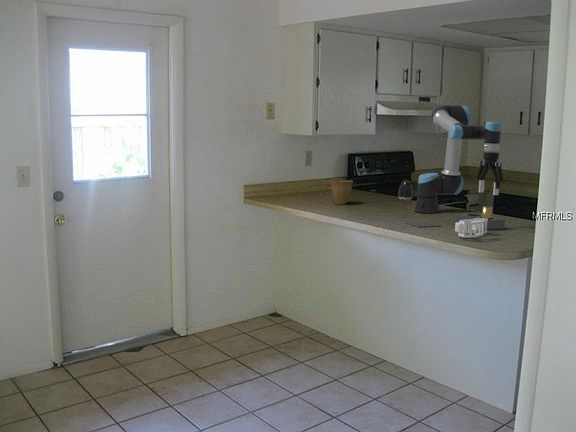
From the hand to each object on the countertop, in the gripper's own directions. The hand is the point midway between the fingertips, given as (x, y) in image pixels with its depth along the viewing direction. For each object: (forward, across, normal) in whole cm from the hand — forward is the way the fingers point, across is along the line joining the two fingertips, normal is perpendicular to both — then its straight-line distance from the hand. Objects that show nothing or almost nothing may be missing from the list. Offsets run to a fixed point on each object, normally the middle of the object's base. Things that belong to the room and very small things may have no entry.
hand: (488, 193), depth 315 cm
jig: (+18, -6, 0) cm, 19 cm away
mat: (+18, -16, -29) cm, 38 cm away
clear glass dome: (+18, -106, +14) cm, 108 cm away
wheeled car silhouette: (+18, +16, -20) cm, 31 cm away
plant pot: (+18, -100, -38) cm, 109 cm away
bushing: (+18, 0, 0) cm, 18 cm away
